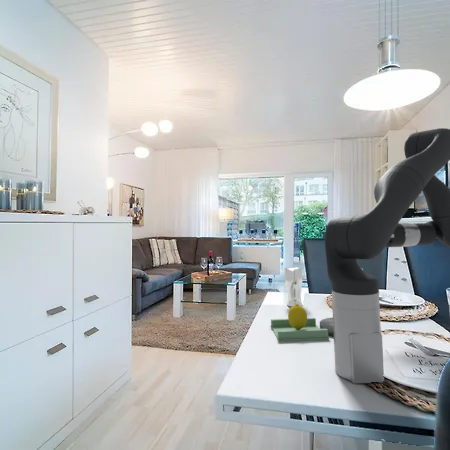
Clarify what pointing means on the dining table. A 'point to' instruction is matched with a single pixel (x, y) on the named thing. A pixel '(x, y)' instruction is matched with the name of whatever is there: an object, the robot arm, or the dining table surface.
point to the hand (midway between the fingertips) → (349, 236)
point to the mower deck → (327, 325)
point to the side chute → (298, 331)
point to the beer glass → (293, 286)
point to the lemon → (297, 317)
